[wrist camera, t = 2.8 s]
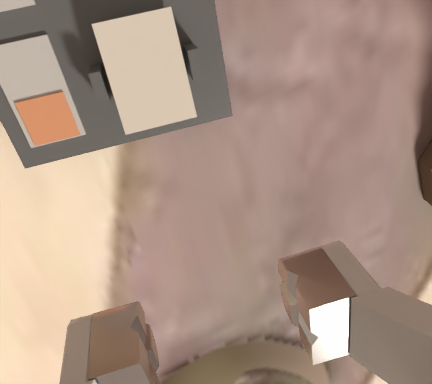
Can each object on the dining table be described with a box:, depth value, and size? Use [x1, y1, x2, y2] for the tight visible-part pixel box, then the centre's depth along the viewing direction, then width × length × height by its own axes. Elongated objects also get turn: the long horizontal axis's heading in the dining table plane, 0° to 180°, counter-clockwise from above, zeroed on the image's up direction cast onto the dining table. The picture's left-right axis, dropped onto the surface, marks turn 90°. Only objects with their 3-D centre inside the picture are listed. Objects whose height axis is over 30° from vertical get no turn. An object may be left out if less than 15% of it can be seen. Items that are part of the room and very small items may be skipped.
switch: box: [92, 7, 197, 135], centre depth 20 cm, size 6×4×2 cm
